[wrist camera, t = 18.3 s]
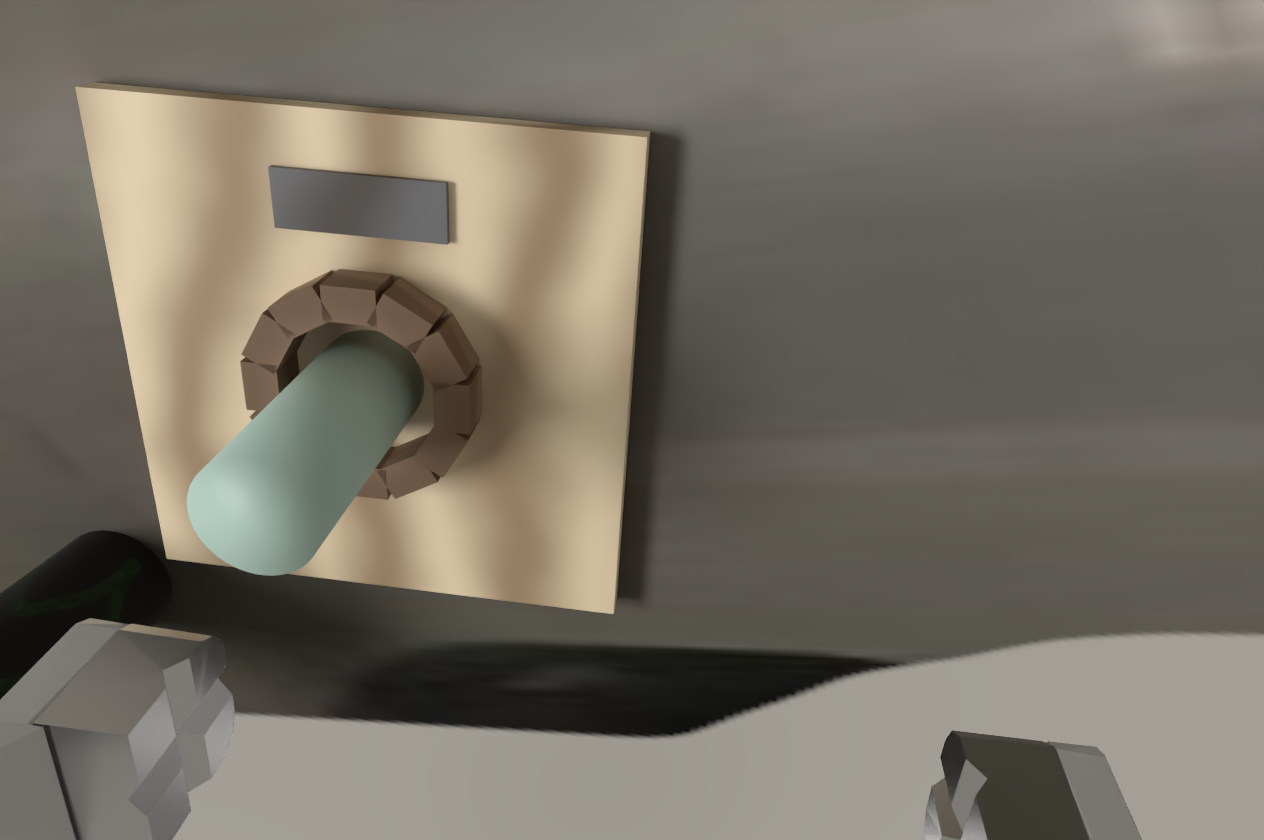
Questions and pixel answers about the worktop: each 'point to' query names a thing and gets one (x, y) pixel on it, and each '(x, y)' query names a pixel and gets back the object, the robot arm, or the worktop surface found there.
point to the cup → (78, 597)
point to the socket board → (489, 276)
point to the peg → (305, 455)
